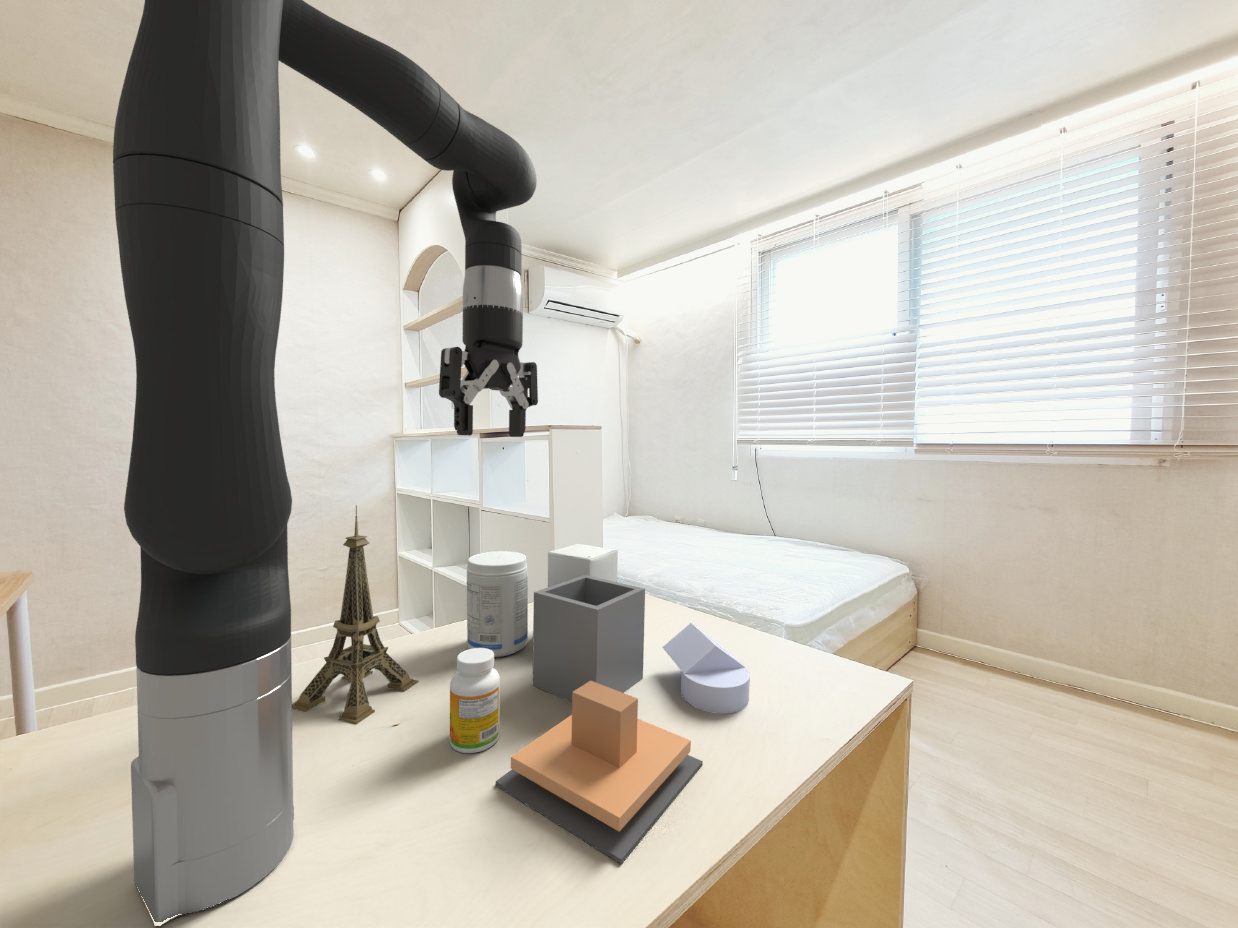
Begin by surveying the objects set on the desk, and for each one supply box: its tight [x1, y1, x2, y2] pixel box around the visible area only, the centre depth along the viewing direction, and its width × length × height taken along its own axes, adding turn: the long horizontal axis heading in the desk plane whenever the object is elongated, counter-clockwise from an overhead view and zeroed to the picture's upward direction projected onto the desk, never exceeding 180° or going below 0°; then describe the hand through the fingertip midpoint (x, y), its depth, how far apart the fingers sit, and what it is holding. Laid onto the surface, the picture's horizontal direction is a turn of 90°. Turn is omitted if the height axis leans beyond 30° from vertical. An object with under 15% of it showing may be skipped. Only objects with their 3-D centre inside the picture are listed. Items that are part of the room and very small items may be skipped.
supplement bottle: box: [449, 648, 501, 754], centre depth 55 cm, size 5×5×10 cm
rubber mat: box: [495, 754, 703, 865], centre depth 50 cm, size 15×15×1 cm
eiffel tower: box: [292, 504, 419, 725], centre depth 63 cm, size 11×11×25 cm
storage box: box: [532, 575, 646, 703], centre depth 68 cm, size 11×11×13 cm
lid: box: [510, 681, 692, 832], centre depth 49 cm, size 13×13×8 cm
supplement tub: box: [466, 550, 529, 658], centre depth 79 cm, size 10×10×15 cm
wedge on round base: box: [662, 622, 751, 714], centre depth 68 cm, size 9×7×13 cm
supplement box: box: [547, 543, 619, 588], centre depth 84 cm, size 9×9×15 cm
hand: (492, 436), depth 64 cm, fingers open, 8 cm apart
